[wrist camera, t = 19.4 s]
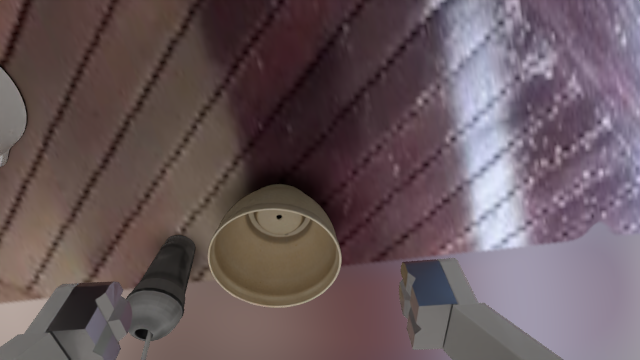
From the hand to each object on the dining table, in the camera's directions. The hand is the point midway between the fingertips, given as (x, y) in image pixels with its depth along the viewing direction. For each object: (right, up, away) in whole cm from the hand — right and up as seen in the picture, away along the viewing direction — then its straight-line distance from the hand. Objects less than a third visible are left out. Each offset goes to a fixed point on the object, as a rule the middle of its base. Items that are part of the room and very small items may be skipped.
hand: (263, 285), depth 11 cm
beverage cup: (-20, -7, +47) cm, 52 cm away
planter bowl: (-4, -1, +44) cm, 44 cm away
